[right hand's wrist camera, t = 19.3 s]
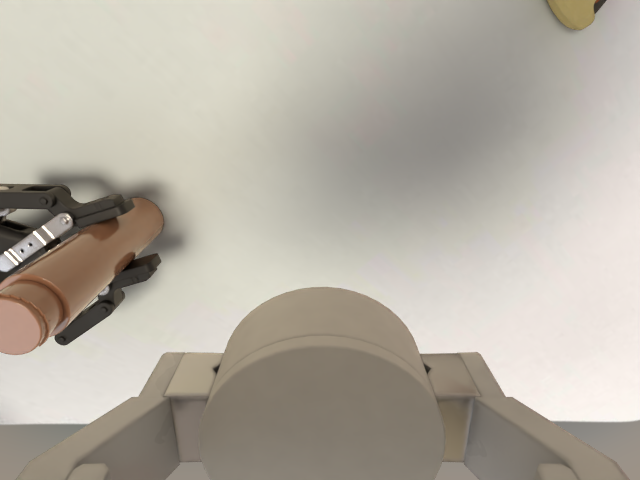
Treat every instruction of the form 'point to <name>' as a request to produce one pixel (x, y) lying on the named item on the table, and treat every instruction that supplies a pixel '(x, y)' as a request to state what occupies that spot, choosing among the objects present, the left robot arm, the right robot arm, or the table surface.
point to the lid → (322, 395)
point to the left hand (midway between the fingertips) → (142, 234)
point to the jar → (71, 277)
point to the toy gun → (576, 12)
